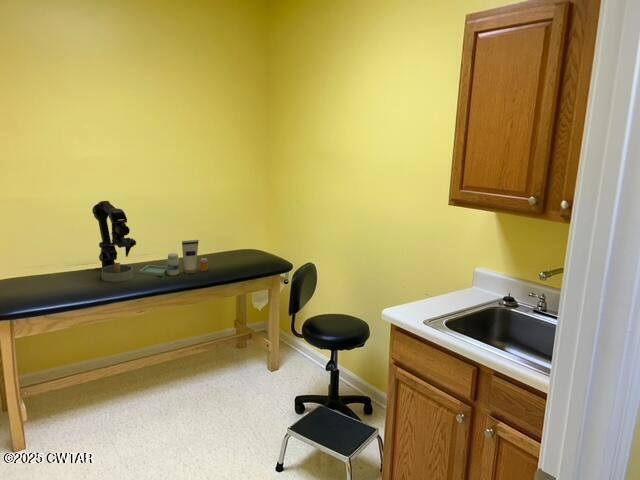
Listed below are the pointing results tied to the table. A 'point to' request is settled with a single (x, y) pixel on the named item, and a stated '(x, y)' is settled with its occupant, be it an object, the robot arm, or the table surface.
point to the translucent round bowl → (111, 276)
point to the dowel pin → (117, 267)
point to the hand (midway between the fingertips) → (118, 258)
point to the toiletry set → (186, 259)
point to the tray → (154, 270)
